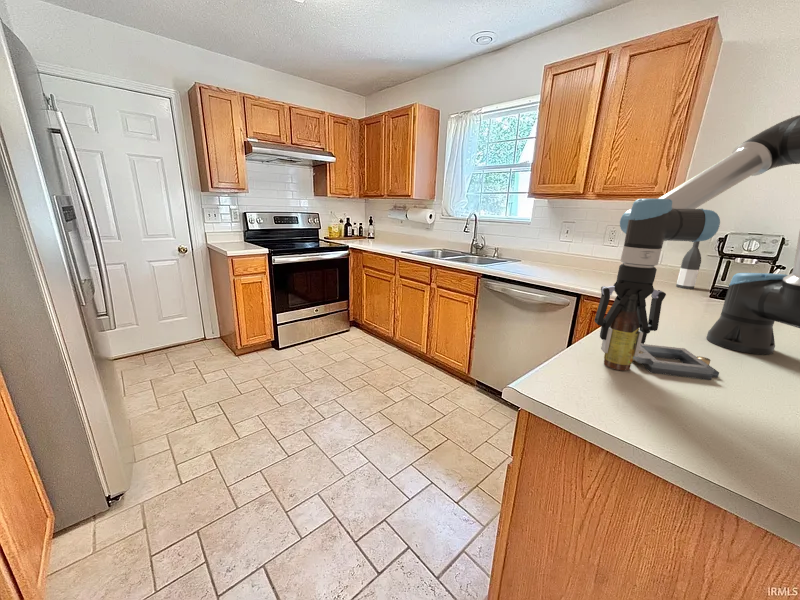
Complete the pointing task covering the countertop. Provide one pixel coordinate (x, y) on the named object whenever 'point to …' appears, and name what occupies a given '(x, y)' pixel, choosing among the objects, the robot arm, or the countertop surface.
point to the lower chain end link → (679, 373)
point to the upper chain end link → (647, 358)
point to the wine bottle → (689, 268)
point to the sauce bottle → (623, 336)
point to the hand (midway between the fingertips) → (618, 352)
